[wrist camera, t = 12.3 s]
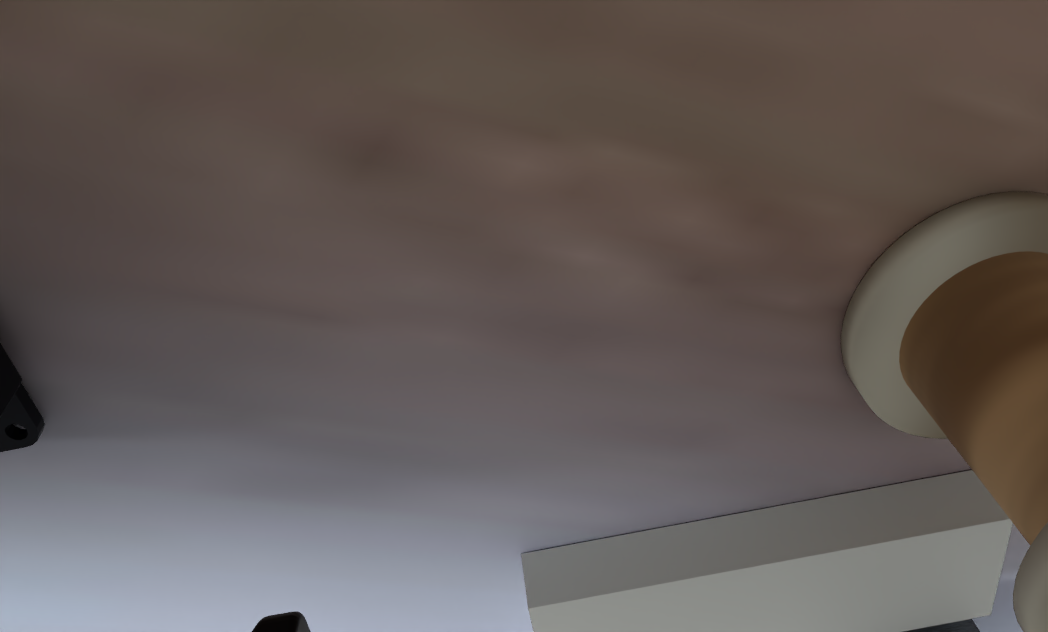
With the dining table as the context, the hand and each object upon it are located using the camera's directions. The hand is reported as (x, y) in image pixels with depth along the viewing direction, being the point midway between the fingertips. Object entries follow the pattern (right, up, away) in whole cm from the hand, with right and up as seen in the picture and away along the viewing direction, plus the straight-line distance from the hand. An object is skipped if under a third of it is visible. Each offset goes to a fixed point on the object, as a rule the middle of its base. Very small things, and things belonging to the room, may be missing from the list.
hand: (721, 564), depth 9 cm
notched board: (+6, -9, +21) cm, 23 cm away
